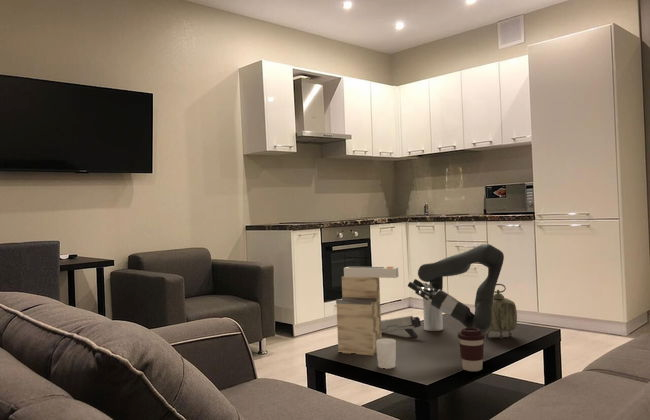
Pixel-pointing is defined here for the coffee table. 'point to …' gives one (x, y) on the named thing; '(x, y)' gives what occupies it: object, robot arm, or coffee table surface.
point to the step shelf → (359, 315)
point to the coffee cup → (471, 348)
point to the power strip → (371, 272)
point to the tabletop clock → (502, 314)
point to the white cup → (386, 353)
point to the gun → (401, 325)
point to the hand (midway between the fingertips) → (411, 282)
